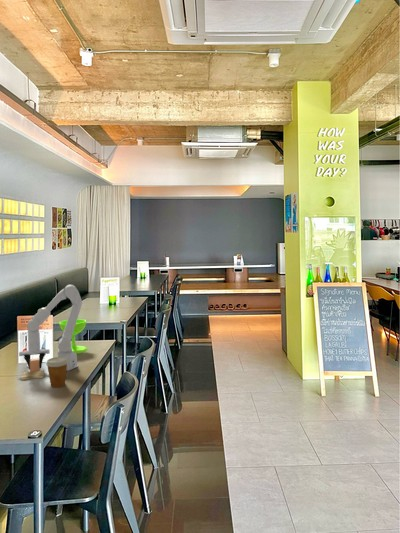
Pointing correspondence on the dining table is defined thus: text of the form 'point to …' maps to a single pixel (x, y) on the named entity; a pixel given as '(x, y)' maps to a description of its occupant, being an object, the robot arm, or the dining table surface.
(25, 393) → the dining table surface
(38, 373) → the birch board
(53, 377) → the disposable coffee cup
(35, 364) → the terracotta block
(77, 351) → the wineglass
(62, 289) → the robot arm
